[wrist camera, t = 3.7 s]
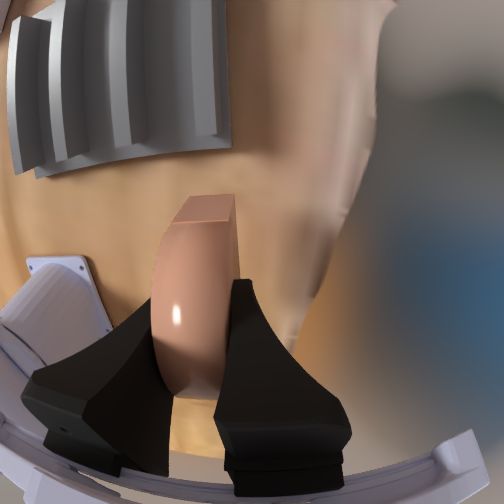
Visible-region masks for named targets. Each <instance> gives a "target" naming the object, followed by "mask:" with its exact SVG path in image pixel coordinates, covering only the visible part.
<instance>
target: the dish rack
mask: <svg viewBox="0 0 504 504" xmlns="http://www.w3.org/2000/svg"><path fill="white" fill-rule="evenodd" d="M7 113H8V127H9V137H10V145H11V153H12V159H13V165H14V171H15V175H18V174H20V173H23V172H26V171H28V170H30V169H32V168H34V171H35V176H36V179H39V178H42V177H46V176H50V175H54V174H57V173H61V172H65V171H70V170H74V169H78V168H83V167H87V166H92V165H97V164H102V163H107V162H113V161H118V160H124V159H130V158H136V157H143V156H150V155H157V154H165V153H173V152H183V151H193V150H204V149H217V148H231V147H232V129H231V110H230V89H229V66H228V40H227V11H226V0H55V2H54V4H52V5H50V6H48V7H47V8H45V9H43V10H42V11H40V12H39V13H37V14H36V15H34V16H33V17H28V16H22V15H21V16H19V17H18V18H17V19H15V20H14V21H13V22H12V27H11V34H10V42H9V51H8V65H7Z"/></svg>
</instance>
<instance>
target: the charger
mask: <svg viewBox="0 0 504 504" xmlns="http://www.w3.org/2000/svg"><path fill="white" fill-rule="evenodd" d="M10 3H11V0H0V34H1V33H2V30H3V26H4V22H5V19H6V15H7V12H8V9H9V6H10Z"/></svg>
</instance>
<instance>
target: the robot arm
mask: <svg viewBox="0 0 504 504" xmlns="http://www.w3.org/2000/svg"><path fill="white" fill-rule="evenodd" d="M26 263H27V266H28V268H29V271H30V273H31V276H32V277H31V278H30V279H29V280H28V281H27V282H26V283H25V284H24V285H23V286H22V287H21V288H20V289H19V290H18V291H17V293H16V294H15V295H14V296H13V297H12V298H11V299H10V300H9V302H8V303H7V304H6V305H5V306H4V307H3V308H2V310H1V311H0V474H3V475H5V476H7V477H8V478H9V479H10V480H11V481H12V482H14V483H15V484H16V485H17V486H19V487H20V488H21V489H23V490H24V491H25V493H24V497H23V499H24V501H25V503H26V504H140V503H136V502H133V501H130V500H126V499H123V498H120V496H121V495H120V494H119V493H118V492H115V491H113V490H111V489H108V488H106V487H105V486H103V485H101V484H99V483H97V482H96V481H94V480H93V479H91V478H88V477H86V476H84V475H82V474H80V473H79V472H78V471H80V472H82V473H85V474H87V475H90V476H92V477H95V478H98V479H101V480H104V481H106V482H109V483H113V484H116V485H119V486H122V487H126V488H129V489H133V490H137V491H141V492H145V493H150V494H153V495H158V496H163V497H168V498H174V499H180V500H187V501H193V502H201V503H212V504H297V503H298V504H458V503H460V502H462V501H463V500H465V499H467V498H468V497H470V496H472V495H473V494H475V493H476V492H478V491H479V490H481V489H483V488H484V487H486V486H487V485H489V483H490V480H489V476H488V473H487V470H486V467H485V464H484V461H483V457H482V455H481V452H480V449H479V446H478V443H477V441H476V438H475V436H474V433H473V430H472V429H468V430H466V431H464V432H462V433H459V434H458V435H455V436H453V437H451V438H449V439H447V440H445V441H443V442H441V443H440V444H439V445H437V446H436V447H435V448H434V449H433V450H432V451H430V452H428V453H425V454H423V455H420V456H417V457H414V458H411V459H409V460H405V461H402V462H399V463H396V464H393V465H389V466H386V467H382V468H378V469H375V470H371V471H366V472H362V473H358V474H353V475H348V476H343V472H342V465H341V464H343V454H342V450H343V448H344V447H345V445H346V444H347V443H348V441H349V440H350V438H351V435H352V431H351V426H350V423H349V420H348V417H347V415H346V413H345V410H344V408H343V406H342V405H341V402H340V401H339V399H338V398H337V397H335V396H334V395H333V394H331V393H330V392H329V391H328V390H326V389H325V388H324V387H323V386H322V385H320V384H319V383H318V382H317V381H316V380H315V379H313V378H312V377H311V376H310V375H309V374H308V373H307V372H306V371H305V370H304V369H303V368H302V367H301V366H300V364H299V363H298V362H297V361H296V360H295V359H294V358H293V357H292V356H291V355H290V353H289V352H288V351H287V350H286V348H285V347H284V346H283V345H282V343H281V342H280V340H279V339H278V338H277V336H276V335H275V333H274V332H273V330H272V329H271V327H270V325H269V323H268V322H267V320H266V318H265V316H264V314H263V312H262V310H261V308H260V306H259V304H258V301H257V299H256V296H255V293H254V290H253V285H252V281H251V280H250V279H234V280H233V284H232V288H231V311H232V327H231V336H230V343H229V349H228V355H227V361H226V366H225V371H224V376H223V381H222V385H221V390H220V394H219V398H218V402H217V406H216V410H215V413H214V417H213V418H214V421H215V423H216V426H217V429H218V432H219V434H220V437H221V440H222V442H223V445H224V448H225V461H224V470H225V471H227V472H228V474H229V476H230V478H231V480H232V481H233V484H218V483H205V482H196V481H188V480H181V479H174V478H168V476H169V439H170V425H171V415H172V406H173V399H174V395H173V394H172V393H171V392H170V391H169V390H168V388H167V386H166V385H165V383H164V381H163V378H162V376H161V373H160V370H159V367H158V364H157V360H156V355H155V350H154V345H153V337H152V327H151V297H150V298H149V299H148V300H147V301H146V302H145V303H144V304H143V305H142V306H141V307H140V308H139V309H138V310H136V311H135V312H134V313H133V314H132V315H131V316H130V317H128V318H127V319H126V320H125V321H124V322H123V323H121V324H120V325H119V326H118V327H116V328H115V329H113V327H112V325H111V323H110V320H109V318H108V316H107V314H106V311H105V309H104V306H103V304H102V302H101V299H100V297H99V294H98V292H97V289H96V286H95V284H94V281H93V278H92V275H91V273H90V270H89V267H88V264H87V261H86V259H85V258H84V257H83V256H81V255H76V256H42V257H28V258H27V259H26ZM82 266H83V267H84V268H83V267H82ZM306 502H310V503H306Z"/></svg>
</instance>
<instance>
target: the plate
mask: <svg viewBox="0 0 504 504" xmlns="http://www.w3.org/2000/svg"><path fill="white" fill-rule="evenodd" d="M234 279H240V267H239V253H238V238H237V224H236V208H235V194H221V195H203V196H190V197H189V198H188V200H187V201H186V202H185V204H184V205H183V207H182V208H181V210H180V211H179V212H178V214H177V215H176V217H175V218H174V220H173V221H172V224H171V225H170V226H169V227H168V228H167V230H166V232H165V234H164V236H163V238H162V241H161V243H160V246H159V249H158V253H157V257H156V261H155V266H154V272H153V279H152V290H151V327H152V337H153V345H154V350H155V355H156V360H157V364H158V367H159V370H160V373H161V376H162V378H163V381H164V383H165V385H166V386H167V388H168V390H169V391H170V392H171V393H172V394H173V395H174V396H175V397H178V398H185V399H198V400H218V398H219V394H220V390H221V385H222V381H223V376H224V371H225V366H226V361H227V355H228V349H229V343H230V336H231V327H232V311H231V288H232V284H233V280H234Z"/></svg>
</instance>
